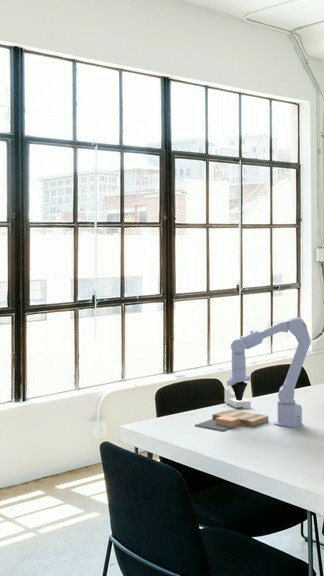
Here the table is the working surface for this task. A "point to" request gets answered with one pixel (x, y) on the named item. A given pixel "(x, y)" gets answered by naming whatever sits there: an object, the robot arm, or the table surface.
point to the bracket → (232, 400)
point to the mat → (213, 425)
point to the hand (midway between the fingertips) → (239, 400)
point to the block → (228, 421)
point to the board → (243, 417)
